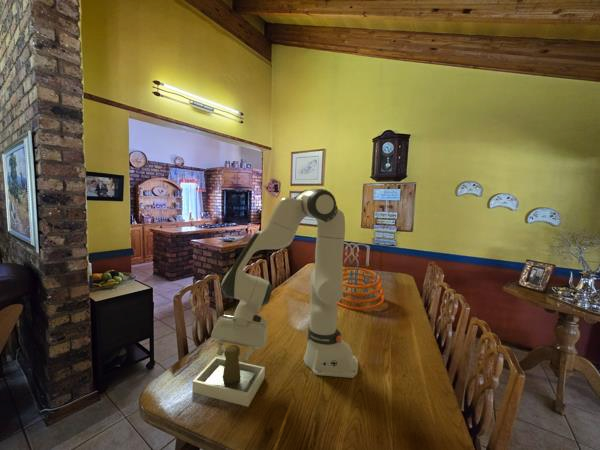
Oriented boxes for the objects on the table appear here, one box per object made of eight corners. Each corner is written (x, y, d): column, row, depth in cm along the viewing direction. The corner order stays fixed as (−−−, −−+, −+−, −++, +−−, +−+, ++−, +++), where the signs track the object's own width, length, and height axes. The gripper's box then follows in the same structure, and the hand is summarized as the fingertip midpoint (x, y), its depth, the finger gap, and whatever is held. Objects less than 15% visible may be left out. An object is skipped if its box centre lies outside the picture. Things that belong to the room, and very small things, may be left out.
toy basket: (392, 314, 161) (394, 278, 156) (336, 315, 160) (336, 279, 155) (375, 290, 194) (376, 259, 190) (328, 291, 194) (328, 260, 189)
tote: (264, 380, 95) (264, 367, 95) (248, 409, 82) (248, 394, 81) (215, 368, 100) (215, 356, 99) (192, 395, 86) (192, 381, 86)
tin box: (254, 379, 94) (254, 372, 93) (242, 399, 84) (242, 392, 84) (219, 371, 97) (219, 365, 97) (203, 390, 87) (204, 383, 87)
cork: (233, 368, 95) (234, 340, 94) (243, 376, 91) (244, 347, 90) (219, 377, 90) (219, 347, 89) (229, 385, 86) (229, 355, 85)
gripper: (217, 310, 98) (201, 349, 90) (268, 319, 94) (256, 361, 85) (223, 317, 103) (208, 354, 94) (271, 325, 98) (261, 365, 90)
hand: (231, 357), depth 90 cm, fingers open, 8 cm apart
